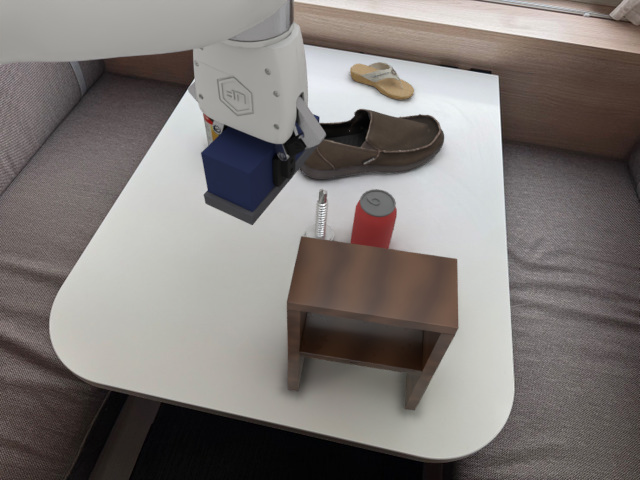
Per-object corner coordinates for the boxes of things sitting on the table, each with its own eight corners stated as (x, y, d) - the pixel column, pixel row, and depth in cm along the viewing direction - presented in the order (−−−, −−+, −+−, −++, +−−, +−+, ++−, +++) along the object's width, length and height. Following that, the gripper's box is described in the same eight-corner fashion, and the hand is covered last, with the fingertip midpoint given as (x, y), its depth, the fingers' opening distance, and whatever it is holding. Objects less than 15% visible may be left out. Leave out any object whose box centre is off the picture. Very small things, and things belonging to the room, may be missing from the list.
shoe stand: (287, 390, 73) (286, 302, 54) (298, 333, 79) (301, 235, 60) (414, 410, 72) (458, 328, 53) (417, 351, 78) (457, 258, 59)
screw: (337, 249, 89) (309, 254, 88) (329, 228, 92) (302, 233, 91) (343, 198, 79) (312, 203, 78) (334, 176, 82) (304, 180, 81)
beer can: (362, 227, 92) (371, 180, 83) (394, 245, 90) (407, 199, 81) (342, 251, 89) (348, 204, 79) (374, 270, 87) (385, 225, 77)
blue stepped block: (252, 225, 54) (248, 178, 48) (205, 203, 56) (195, 155, 50) (320, 142, 62) (324, 94, 57) (278, 125, 64) (276, 76, 58)
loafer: (451, 162, 103) (465, 120, 95) (310, 196, 96) (312, 153, 88) (426, 127, 110) (437, 85, 101) (291, 157, 102) (291, 114, 94)
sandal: (408, 104, 114) (412, 85, 110) (343, 83, 118) (345, 64, 114) (418, 88, 118) (422, 68, 114) (355, 68, 122) (357, 49, 118)
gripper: (134, -4, 42) (173, 159, 57) (318, 61, 38) (310, 221, 52) (190, -39, 47) (213, 121, 61) (362, 16, 42) (344, 175, 56)
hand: (258, 166), depth 56 cm, fingers closed on blue stepped block, 5 cm apart
